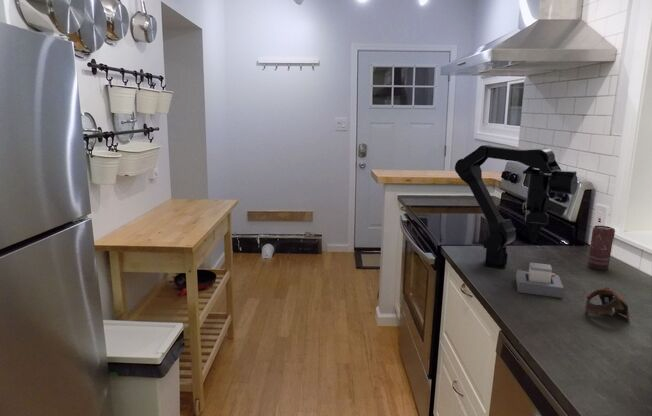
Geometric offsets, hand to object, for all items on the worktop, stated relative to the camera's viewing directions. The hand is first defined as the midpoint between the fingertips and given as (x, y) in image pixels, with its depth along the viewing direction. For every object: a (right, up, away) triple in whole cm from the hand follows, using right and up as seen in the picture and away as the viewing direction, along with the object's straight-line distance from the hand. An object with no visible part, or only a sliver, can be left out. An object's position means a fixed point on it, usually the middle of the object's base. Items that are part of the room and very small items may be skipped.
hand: (531, 238), depth 144 cm
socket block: (-2, -14, -9) cm, 17 cm away
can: (+27, -11, +9) cm, 30 cm away
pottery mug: (+8, -19, -25) cm, 32 cm away
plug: (-2, -14, -9) cm, 17 cm away
